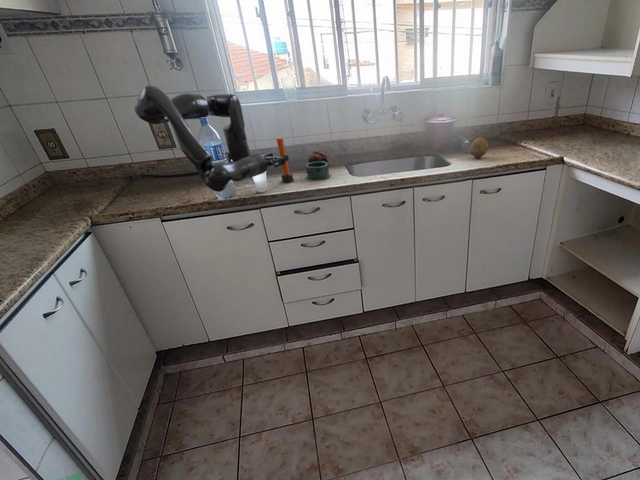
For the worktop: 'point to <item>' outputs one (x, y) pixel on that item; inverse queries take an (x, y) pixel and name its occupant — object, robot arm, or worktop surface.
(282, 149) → the dish brush
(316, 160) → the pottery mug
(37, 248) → the worktop surface
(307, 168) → the utensil cup
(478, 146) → the brown potato
